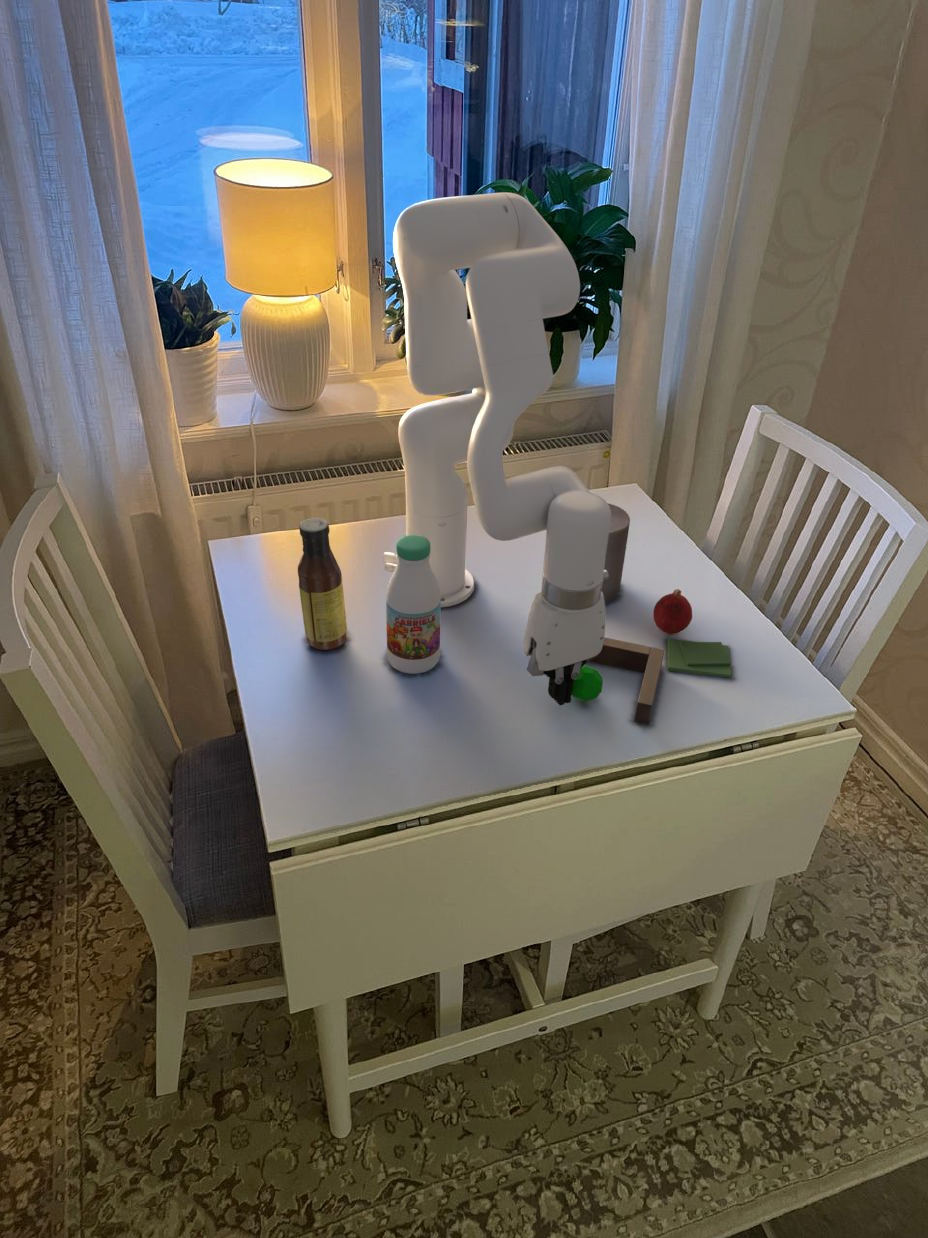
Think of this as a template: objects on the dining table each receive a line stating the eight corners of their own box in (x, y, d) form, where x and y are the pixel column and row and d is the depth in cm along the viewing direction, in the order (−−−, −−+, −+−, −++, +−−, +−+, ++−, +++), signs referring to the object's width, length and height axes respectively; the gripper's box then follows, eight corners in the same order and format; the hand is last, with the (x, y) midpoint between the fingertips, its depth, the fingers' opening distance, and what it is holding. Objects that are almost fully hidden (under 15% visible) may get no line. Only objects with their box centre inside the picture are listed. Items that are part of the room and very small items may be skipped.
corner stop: (520, 696, 131) (522, 677, 129) (541, 643, 141) (543, 624, 139) (648, 725, 127) (652, 705, 125) (661, 668, 137) (664, 649, 135)
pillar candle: (603, 568, 158) (614, 490, 149) (629, 600, 151) (642, 519, 142) (550, 577, 156) (558, 497, 147) (574, 610, 148) (584, 528, 139)
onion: (687, 647, 141) (696, 604, 136) (649, 641, 142) (657, 598, 137) (687, 625, 146) (696, 582, 141) (650, 620, 147) (658, 577, 142)
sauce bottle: (355, 634, 141) (349, 519, 130) (333, 657, 137) (325, 540, 125) (318, 622, 143) (309, 509, 132) (295, 644, 139) (284, 529, 127)
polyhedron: (567, 682, 133) (572, 655, 131) (601, 689, 133) (607, 663, 130) (562, 703, 129) (567, 676, 126) (597, 711, 128) (603, 684, 126)
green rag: (668, 670, 136) (669, 664, 136) (667, 641, 142) (668, 635, 142) (730, 678, 135) (732, 672, 135) (727, 648, 141) (728, 642, 141)
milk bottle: (379, 649, 138) (376, 533, 127) (428, 638, 141) (429, 523, 129) (397, 680, 133) (396, 562, 121) (447, 668, 135) (451, 551, 124)
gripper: (604, 560, 123) (589, 668, 134) (505, 586, 118) (498, 697, 128) (637, 588, 118) (619, 699, 129) (535, 617, 112) (526, 730, 123)
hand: (559, 698), depth 128 cm, fingers closed
